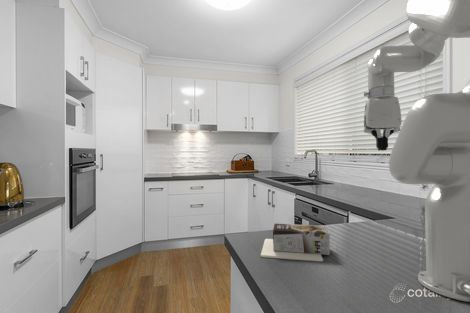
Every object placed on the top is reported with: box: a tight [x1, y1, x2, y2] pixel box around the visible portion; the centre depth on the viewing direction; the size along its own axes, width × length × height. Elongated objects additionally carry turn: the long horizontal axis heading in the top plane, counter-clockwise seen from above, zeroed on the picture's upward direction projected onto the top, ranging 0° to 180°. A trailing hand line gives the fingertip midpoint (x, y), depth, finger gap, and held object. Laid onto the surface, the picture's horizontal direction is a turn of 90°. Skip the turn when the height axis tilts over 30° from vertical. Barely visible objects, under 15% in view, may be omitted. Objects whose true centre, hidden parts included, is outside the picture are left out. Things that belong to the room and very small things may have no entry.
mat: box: [260, 238, 324, 262], centre depth 78 cm, size 16×17×1 cm
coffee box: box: [272, 223, 331, 256], centre depth 78 cm, size 9×6×16 cm
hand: (382, 150), depth 83 cm, fingers closed
